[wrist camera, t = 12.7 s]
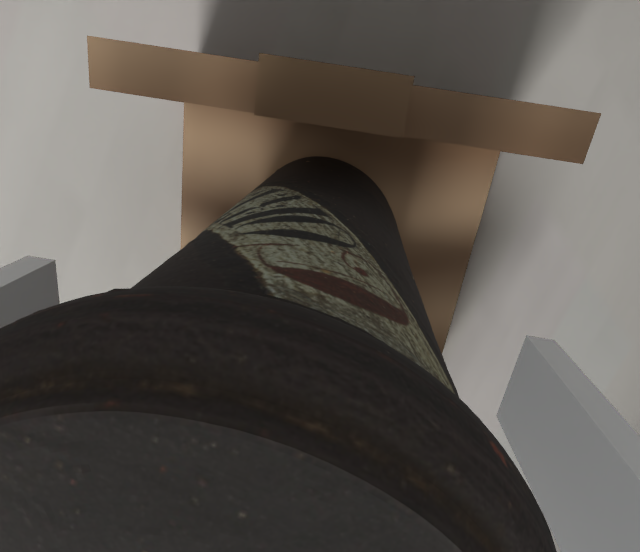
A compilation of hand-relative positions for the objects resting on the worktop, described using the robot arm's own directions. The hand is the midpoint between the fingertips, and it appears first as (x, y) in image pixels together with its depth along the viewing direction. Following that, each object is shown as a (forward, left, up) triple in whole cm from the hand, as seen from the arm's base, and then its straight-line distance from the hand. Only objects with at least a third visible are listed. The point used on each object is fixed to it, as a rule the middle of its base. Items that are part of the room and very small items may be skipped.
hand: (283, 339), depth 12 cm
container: (0, 0, -12) cm, 12 cm away
